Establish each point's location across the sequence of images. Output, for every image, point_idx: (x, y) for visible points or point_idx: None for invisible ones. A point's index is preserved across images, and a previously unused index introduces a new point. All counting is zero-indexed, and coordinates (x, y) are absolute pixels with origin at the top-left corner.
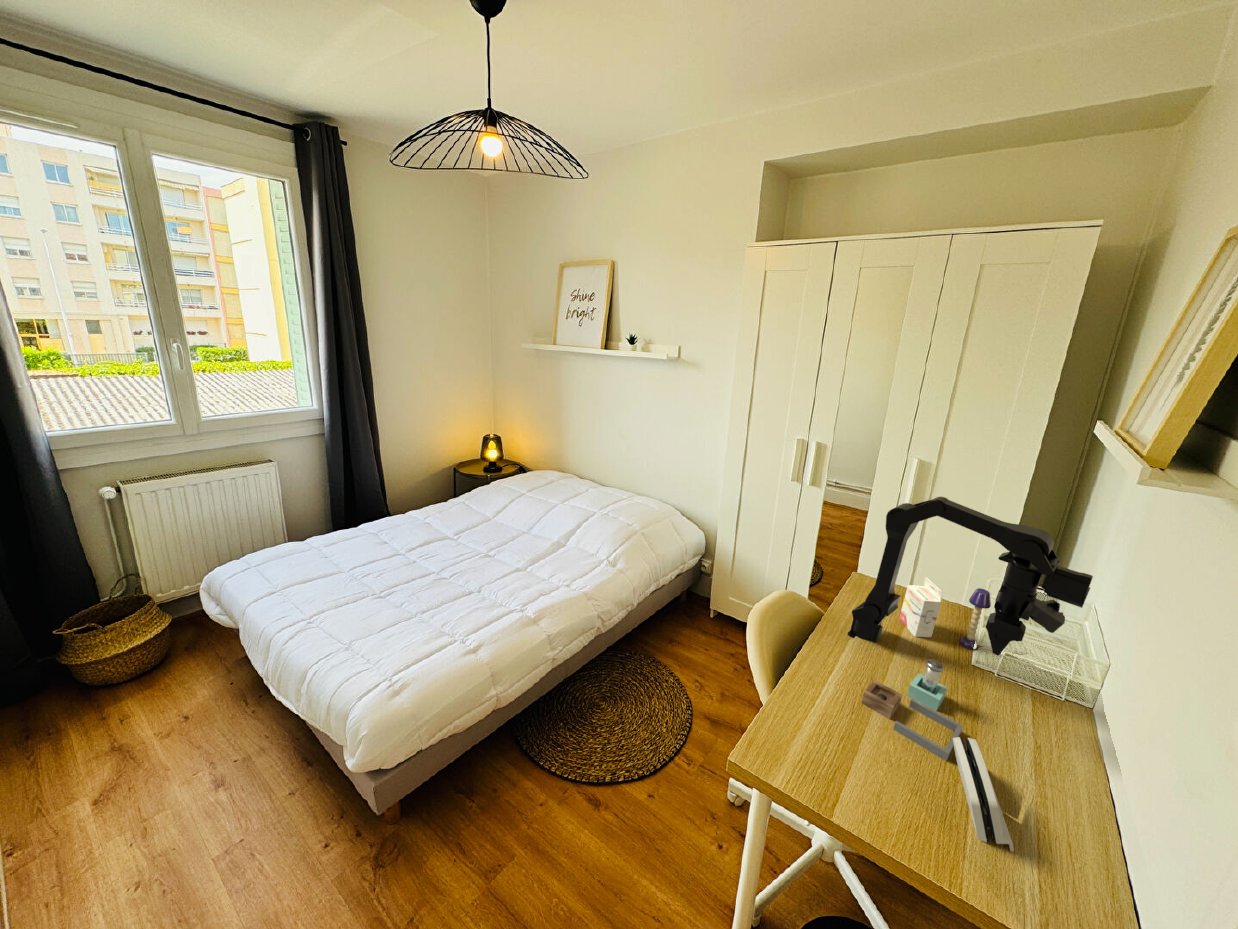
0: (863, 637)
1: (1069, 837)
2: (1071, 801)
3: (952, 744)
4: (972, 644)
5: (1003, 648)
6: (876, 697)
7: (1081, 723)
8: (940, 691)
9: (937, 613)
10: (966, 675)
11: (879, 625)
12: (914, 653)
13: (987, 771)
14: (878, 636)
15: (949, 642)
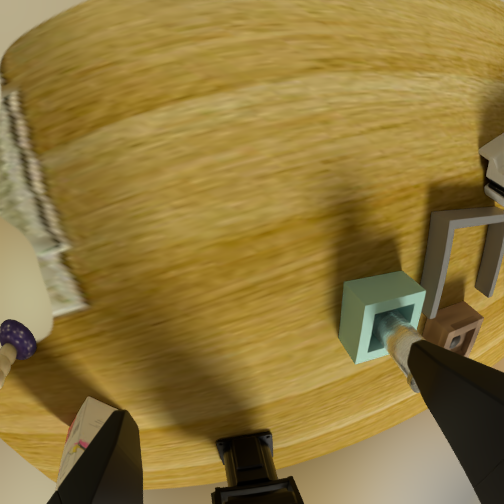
0: (269, 449)
1: (491, 40)
2: (433, 19)
3: (495, 216)
4: (18, 337)
5: (486, 369)
6: (472, 343)
7: (87, 16)
8: (393, 306)
9: (77, 459)
10: (157, 295)
11: (248, 472)
12: (198, 394)
13: (501, 153)
14: (251, 448)
15: (57, 367)
